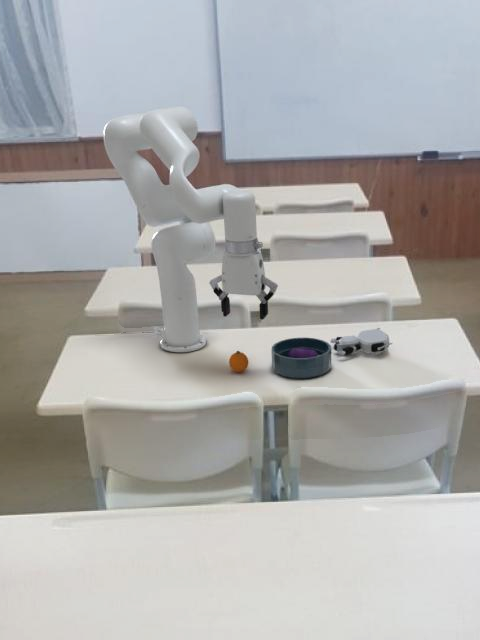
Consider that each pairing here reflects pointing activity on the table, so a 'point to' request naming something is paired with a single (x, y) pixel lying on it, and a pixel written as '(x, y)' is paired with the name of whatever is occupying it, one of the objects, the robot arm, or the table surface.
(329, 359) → the bowl
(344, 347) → the robot toy
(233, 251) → the robot arm
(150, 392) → the table surface
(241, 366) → the orange toy
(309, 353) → the aubergine toy
